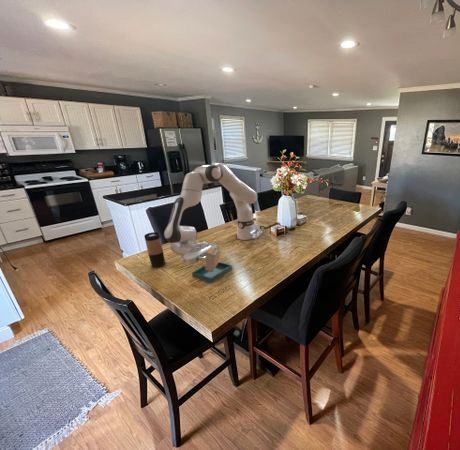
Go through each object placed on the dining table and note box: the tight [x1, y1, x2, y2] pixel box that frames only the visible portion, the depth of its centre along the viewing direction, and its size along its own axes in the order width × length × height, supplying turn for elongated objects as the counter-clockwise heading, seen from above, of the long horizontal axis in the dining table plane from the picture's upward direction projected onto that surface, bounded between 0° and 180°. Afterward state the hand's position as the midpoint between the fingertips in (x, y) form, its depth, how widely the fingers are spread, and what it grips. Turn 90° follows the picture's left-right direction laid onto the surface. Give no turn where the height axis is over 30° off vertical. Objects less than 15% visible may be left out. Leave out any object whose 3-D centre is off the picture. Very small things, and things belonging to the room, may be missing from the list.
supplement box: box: [204, 243, 222, 272], centre depth 132 cm, size 8×5×13 cm, turn 173°
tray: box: [191, 261, 233, 283], centre depth 137 cm, size 16×14×2 cm
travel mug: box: [144, 231, 166, 269], centre depth 142 cm, size 8×8×20 cm
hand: (211, 256), depth 133 cm, fingers closed on supplement box, 6 cm apart
